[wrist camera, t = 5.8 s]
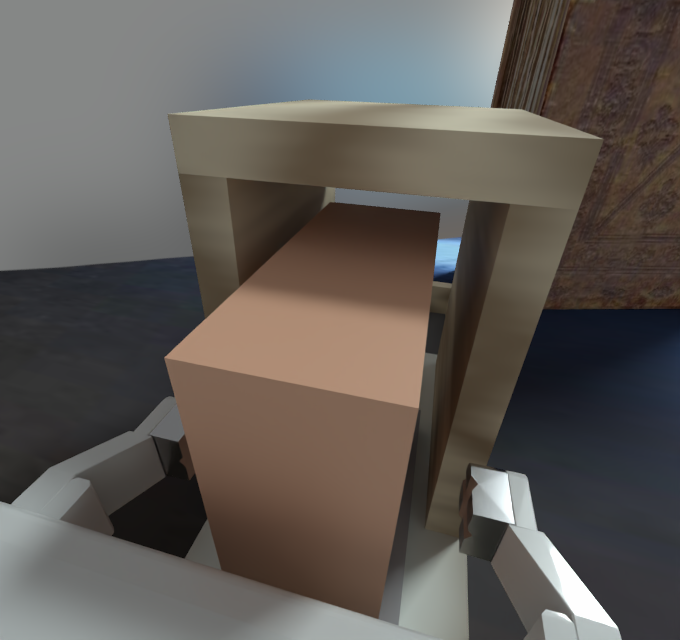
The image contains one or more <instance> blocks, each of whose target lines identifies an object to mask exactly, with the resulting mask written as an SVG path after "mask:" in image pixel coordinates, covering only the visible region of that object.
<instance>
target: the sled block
mask: <svg viewBox="0 0 680 640" xmlns="http://www.w3.org/2000/svg"><path fill="white" fill-rule="evenodd" d="M439 221H440V213H436V212H426V211H416V210H405V209H396V208H386V207H376V206H366V205H355V204H345V203H335V202H330V203H329V204H327V205H326V206H325V207H324V208H323V209H322V210H321V211H320V212H319V213H318V214H317V215H316V216H315V217H314V218H313V219H311V220H310V221H309V222H308V223H307V224H306V225H305V226H304V227H303V228H302V229H301V230H300V231H299V232H298V233H297V234H296V235H294V236H293V237H292V238H291V239H290V240H289V241H288V242H287V243H286V244H285V245H284V246H283V247H282V248H281V249H280V250H279V251H277V252H276V253H275V254H274V255H273V256H272V257H271V258H270V259H269V260H268V261H267V262H266V263H265V264H264V265H263V266H261V267H260V268H259V269H258V270H257V271H256V272H255V273H254V274H253V275H252V276H251V277H250V278H249V279H248V280H247V281H246V282H244V283H243V284H242V285H241V286H240V287H239V288H238V289H237V290H236V291H235V292H234V293H233V294H232V295H231V296H230V297H228V298H227V299H226V300H225V301H224V302H223V303H222V304H221V305H220V306H219V307H218V308H217V309H216V310H215V311H214V312H213V313H211V314H210V315H209V316H208V317H207V318H206V319H205V320H204V321H203V322H202V323H201V324H200V325H199V326H198V327H197V328H196V329H194V330H193V331H192V332H191V333H190V334H189V335H188V336H187V337H186V338H185V339H184V340H183V341H182V342H181V343H180V344H178V345H177V346H176V347H175V348H174V349H173V350H172V351H171V352H170V353H169V354H168V355H167V356H166V357H165V362H166V366H167V369H168V373H169V377H170V380H171V384H172V388H173V392H174V395H175V399H176V403H177V407H178V410H179V414H180V418H181V421H182V425H183V429H184V433H185V436H186V440H187V444H188V447H189V451H190V455H191V459H192V462H193V466H194V470H195V474H196V477H197V481H198V485H199V488H200V492H201V496H202V500H203V503H204V507H205V511H206V514H207V518H208V522H209V526H210V529H211V533H212V537H213V540H214V544H215V548H216V552H217V555H218V559H219V563H220V567H221V570H222V571H226V572H229V573H232V574H235V575H238V576H242V577H245V578H248V579H251V580H254V581H258V582H261V583H264V584H267V585H270V586H274V587H277V588H280V589H283V590H286V591H290V592H293V593H296V594H299V595H302V596H306V597H309V598H312V599H315V600H318V601H322V602H325V603H328V604H331V605H335V606H338V607H341V608H344V609H347V610H351V611H354V612H357V613H360V614H363V615H367V616H370V617H373V618H376V619H379V620H383V621H386V622H389V623H392V624H395V625H399V616H400V606H401V597H402V587H403V577H404V568H405V558H406V549H407V539H408V529H409V520H410V510H411V500H412V491H413V481H414V472H415V462H416V452H417V443H418V433H419V423H420V414H421V410H419V402H420V393H421V384H422V375H423V366H424V357H425V347H426V338H427V329H428V320H429V311H430V302H431V293H432V284H433V275H434V266H435V257H436V248H437V239H438V230H439Z"/></svg>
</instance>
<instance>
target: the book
mask: <svg viewBox="0 0 680 640" xmlns="http://www.w3.org/2000/svg"><path fill="white" fill-rule="evenodd" d="M491 108H503V109H522V110H525V111H528V112H530V113H533V114H536V115H539V116H541V117H544V118H547V119H550V120H553V121H555V122H558V123H561V124H564V125H566V126H569V127H572V128H575V129H577V130H580V131H583V132H586V133H588V134H591V135H594V136H597V137H599V138H602V139H604V141H603V143H602V146H601V149H600V152H599V154H598V157H597V160H596V163H595V166H594V168H593V171H592V174H591V177H590V179H589V182H588V185H587V188H586V191H585V193H584V196H583V199H582V202H581V204H580V207H579V210H578V213H577V215H576V218H575V221H574V224H573V227H572V229H571V232H570V235H569V238H568V240H567V243H566V246H565V249H564V252H563V254H562V257H561V260H560V263H559V265H558V268H557V271H556V274H555V276H554V279H553V282H552V285H551V288H550V290H549V293H548V296H547V299H546V301H545V304H544V307H543V309H680V0H514V2H513V7H512V11H511V16H510V21H509V25H508V30H507V35H506V39H505V44H504V48H503V53H502V58H501V62H500V67H499V72H498V76H497V81H496V86H495V90H494V95H493V99H492V104H491Z"/></svg>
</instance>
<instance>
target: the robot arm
mask: <svg viewBox="0 0 680 640" xmlns="http://www.w3.org/2000/svg"><path fill="white" fill-rule="evenodd" d="M194 474H195V470H194V466H193V462H192V459H191V455H190V451H189V447H188V444H187V440H186V436H185V433H184V429H183V425H182V421H181V418H180V414H179V410H178V407H177V403H176V399H175V397H170V396H169V397H167V398H165V399H164V400H163V401H162V402H161V403H160V404H159V405H158V406H157V407H156V408H155V409H154V410H153V411H152V413H151V414H150V415H149V416H148V417H147V418H146V419H145V420H144V421H143V422H142V423H141V424H140V425H139V426H138V428H137V429H136V430H135V431H134V432H132V431H128V432H126V433H124V434H122V435H120V436H118V437H115V438H113V439H111V440H109V441H107V442H105V443H102V444H100V445H98V446H96V447H94V448H91V449H89V450H87V451H85V452H83V453H81V454H78V455H76V456H74V457H72V458H70V459H68V460H65V461H63V462H61V463H59V464H57V465H55V466H52V467H50V468H49V469H48V470H47V471H46V472H45V473H44V474H42V475H41V476H40V477H39V478H38V479H37V480H36V481H35V482H34V483H33V484H32V485H31V486H30V487H29V488H28V489H27V490H25V491H24V492H23V493H22V494H21V495H20V496H19V497H18V498H17V499H16V500H15V501H14V502H13V503H12V504H11V505H10V504H7V503H4V502H1V501H0V640H443V639H440V638H437V637H434V636H431V635H427V634H424V633H421V632H418V631H415V630H411V629H408V628H405V627H402V626H399V625H395V624H392V623H389V622H386V621H383V620H379V619H376V618H373V617H370V616H367V615H363V614H360V613H357V612H354V611H351V610H347V609H344V608H341V607H338V606H335V605H331V604H328V603H325V602H322V601H318V600H315V599H312V598H309V597H306V596H302V595H299V594H296V593H293V592H290V591H286V590H283V589H280V588H277V587H274V586H270V585H267V584H264V583H261V582H258V581H254V580H251V579H248V578H245V577H242V576H238V575H235V574H232V573H229V572H226V571H222V570H219V569H216V568H213V567H209V566H206V565H203V564H200V563H197V562H193V561H190V560H187V559H184V558H181V557H177V556H174V555H171V554H168V553H164V552H161V551H158V550H155V549H152V548H148V547H145V546H142V545H139V544H136V543H132V542H129V541H126V540H123V539H119V538H116V537H113V536H112V535H113V533H114V527H113V525H112V523H111V521H110V519H109V517H108V516H109V515H110V514H112V513H113V512H115V511H116V510H118V509H119V508H121V507H122V506H123V505H125V504H126V503H128V502H129V501H131V500H132V499H134V498H135V497H137V496H138V495H140V494H141V493H143V492H144V491H145V490H147V489H148V488H150V487H151V486H153V485H154V484H156V483H157V482H159V481H160V480H162V479H163V478H164V477H165V475H167V476H171V477H176V478H180V479H184V480H188V481H190V479H191V478H192V477H193V475H194ZM459 515H460V517H461V518H462V521H461V524H460V527H459V552H460V553H463V554H466V555H470V556H473V557H477V558H480V559H483V560H487V561H490V562H491V565H492V566H493V568H494V570H495V572H496V574H497V576H498V578H499V580H500V581H501V583H502V585H503V587H504V589H505V591H506V593H507V595H508V596H509V598H510V600H511V602H512V604H513V606H514V608H515V610H516V612H517V613H518V615H519V617H520V619H521V621H522V623H523V625H524V627H525V628H526V630H527V632H528V634H527V635H526V637H525V638H524V640H621V636H620V633H619V630H618V627H617V626H616V625H615V624H614V622H613V621H612V620H611V618H610V617H609V616H608V615H607V613H606V612H605V611H604V610H603V608H602V607H601V606H600V604H599V603H598V602H597V601H596V599H595V598H594V597H593V595H592V594H591V593H590V592H589V590H588V589H587V588H586V586H585V585H584V584H583V583H582V581H581V580H580V579H579V577H578V576H577V575H576V574H575V572H574V571H573V570H572V568H571V567H570V566H569V565H568V563H567V562H566V561H565V559H564V558H563V557H562V556H561V554H560V553H559V552H558V551H557V549H556V548H555V547H554V545H553V544H552V543H551V542H550V540H549V539H548V538H547V536H546V535H545V534H544V533H543V532H540V531H537V525H536V520H535V515H534V510H533V504H532V499H531V494H530V489H529V483H528V478H527V477H526V475H524V474H520V473H515V472H511V471H505V470H503V469H498V468H493V467H488V466H484V465H479V464H474V463H469V464H468V466H467V469H466V479H465V480H463V481H462V485H461V489H460V495H459Z"/></svg>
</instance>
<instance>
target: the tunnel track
mask: <svg viewBox="0 0 680 640" xmlns="http://www.w3.org/2000/svg"><path fill="white" fill-rule="evenodd" d="M168 119H169V125H170V130H171V135H172V141H173V146H174V152H175V157H176V162H177V168H178V173H179V179H180V183H181V189H182V195H183V200H184V206H185V211H186V217H187V222H188V227H189V232H190V238H191V244H192V249H193V254H194V260H195V265H196V271H197V276H198V282H199V287H200V292H201V298H202V303H203V309H204V314H205V319H206V318H207V317H208V316H209V315H210V314H211V313H213V312H214V311H215V310H216V309H217V308H218V307H219V306H220V305H221V304H222V303H223V302H224V301H225V300H226V299H227V298H228V297H230V296H231V295H232V294H233V293H234V292H235V291H236V290H237V289H238V288H239V287H240V286H241V285H242V284H243V283H244V282H246V281H247V280H248V279H249V278H250V277H251V276H252V275H253V274H254V273H255V272H256V271H257V270H258V269H259V268H260V267H261V266H263V265H264V264H265V263H266V262H267V261H268V260H269V259H270V258H271V257H272V256H273V255H274V254H275V253H276V252H277V251H279V250H280V249H281V248H282V247H283V246H284V245H285V244H286V243H287V242H288V241H289V240H290V239H291V238H292V237H293V236H294V235H296V234H297V233H298V232H299V231H300V230H301V229H302V228H303V227H304V226H305V225H306V224H307V223H308V222H309V221H310V220H311V219H313V218H314V217H315V216H316V215H317V214H318V213H319V212H320V211H321V210H322V209H323V208H324V207H325V206H326V205H327V204H329V203H330V202H335V188H345V189H355V190H366V191H376V192H387V193H399V194H409V195H421V196H431V197H443V198H453V199H464V200H469V205H468V210H467V215H466V220H465V224H464V229H463V234H462V239H461V244H460V249H459V253H458V258H457V263H456V268H455V273H454V278H453V282H452V284H451V283H443V282H436V281H433V284H432V293H431V302H430V311H429V320H428V329H427V338H426V347H425V357H424V366H423V375H422V384H421V393H420V402H419V410H421V414H420V423H419V433H418V443H417V452H416V462H415V472H414V481H413V491H412V500H411V510H410V520H409V529H408V539H407V549H406V558H405V568H404V577H403V587H402V597H401V606H400V616H399V626H402V627H405V628H408V629H411V630H415V631H418V632H421V633H424V634H427V635H431V636H434V637H437V638H440V639H443V640H469V628H468V589H467V555H466V554H463V553H460V552H459V527H460V524H461V521H462V518H461V517H460V515H459V495H460V489H461V485H462V481H463V480H465V479H466V469H467V466H468V464H469V463H474V464H479V465H484V466H486V465H487V462H488V460H489V457H490V454H491V451H492V448H493V446H494V443H495V440H496V437H497V435H498V432H499V429H500V426H501V423H502V421H503V418H504V415H505V412H506V410H507V407H508V404H509V401H510V399H511V396H512V393H513V390H514V387H515V385H516V382H517V379H518V376H519V374H520V371H521V368H522V365H523V362H524V360H525V357H526V354H527V351H528V349H529V346H530V343H531V340H532V338H533V335H534V332H535V329H536V326H537V324H538V321H539V318H540V315H541V313H542V310H543V307H544V304H545V301H546V299H547V296H548V293H549V290H550V288H551V285H552V282H553V279H554V276H555V274H556V271H557V268H558V265H559V263H560V260H561V257H562V254H563V252H564V249H565V246H566V243H567V240H568V238H569V235H570V232H571V229H572V227H573V224H574V221H575V218H576V215H577V213H578V210H579V207H580V204H581V202H582V199H583V196H584V193H585V191H586V188H587V185H588V182H589V179H590V177H591V174H592V171H593V168H594V166H595V163H596V160H597V157H598V154H599V152H600V149H601V146H602V143H603V141H604V139H602V138H599V137H597V136H594V135H591V134H588V133H586V132H583V131H580V130H577V129H575V128H572V127H569V126H566V125H564V124H561V123H558V122H555V121H553V120H550V119H547V118H544V117H541V116H539V115H536V114H533V113H530V112H528V111H525V110H522V109H503V108H481V107H459V106H438V105H416V104H394V103H392V104H391V103H369V102H350V101H328V100H302V101H291V102H281V103H271V104H262V105H251V106H241V107H231V108H222V109H212V110H202V111H192V112H182V113H172V114H168ZM185 559H187V560H190V561H193V562H197V563H200V564H203V565H206V566H209V567H213V568H216V569H219V570H221V567H220V563H219V559H218V555H217V552H216V548H215V544H214V540H213V537H212V533H211V529H210V526H209V522H208V519H207V520H206V522H205V524H204V526H203V527H202V529H201V531H200V533H199V534H198V536H197V538H196V540H195V541H194V543H193V545H192V547H191V548H190V550H189V552H188V554H187V555H186V557H185Z"/></svg>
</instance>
